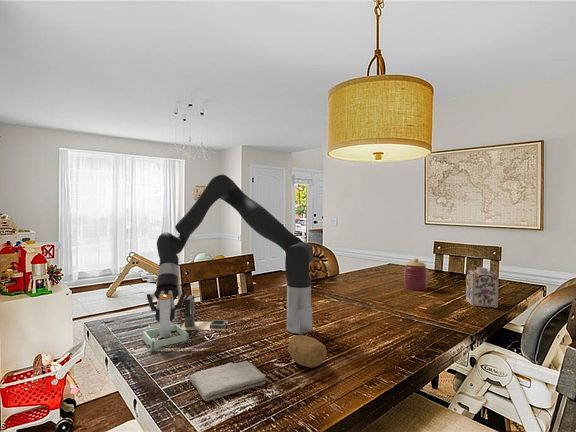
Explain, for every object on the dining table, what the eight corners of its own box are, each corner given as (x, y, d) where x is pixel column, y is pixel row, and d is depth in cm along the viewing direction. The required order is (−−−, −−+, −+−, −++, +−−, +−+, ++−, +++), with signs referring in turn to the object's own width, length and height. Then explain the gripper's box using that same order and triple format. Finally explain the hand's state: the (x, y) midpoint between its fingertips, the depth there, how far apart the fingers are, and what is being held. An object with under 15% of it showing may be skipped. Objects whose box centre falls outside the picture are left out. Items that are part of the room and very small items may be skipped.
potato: (303, 352, 112) (304, 328, 111) (334, 369, 100) (334, 342, 100) (279, 360, 106) (279, 334, 106) (309, 378, 95) (309, 350, 94)
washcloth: (268, 384, 92) (268, 373, 92) (204, 405, 82) (204, 392, 82) (248, 367, 102) (249, 356, 102) (188, 383, 92) (189, 372, 92)
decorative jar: (471, 306, 166) (472, 269, 166) (465, 299, 177) (465, 265, 177) (498, 308, 163) (500, 270, 163) (490, 301, 175) (491, 266, 174)
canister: (429, 287, 204) (429, 257, 204) (424, 291, 193) (425, 260, 193) (406, 284, 211) (407, 255, 211) (401, 288, 200) (401, 258, 200)
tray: (188, 342, 118) (188, 334, 118) (152, 351, 111) (152, 342, 111) (176, 332, 128) (176, 324, 128) (142, 339, 121) (142, 330, 121)
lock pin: (171, 332, 122) (171, 293, 122) (171, 336, 118) (171, 296, 118) (159, 333, 121) (159, 294, 121) (158, 337, 117) (158, 297, 117)
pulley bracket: (227, 324, 137) (228, 294, 137) (224, 332, 128) (224, 300, 128) (185, 324, 137) (185, 294, 136) (178, 332, 128) (178, 300, 127)
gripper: (146, 273, 124) (141, 317, 113) (187, 271, 128) (186, 314, 116) (148, 284, 130) (143, 327, 118) (187, 282, 133) (186, 324, 122)
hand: (164, 320), depth 117 cm, fingers closed on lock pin, 3 cm apart
